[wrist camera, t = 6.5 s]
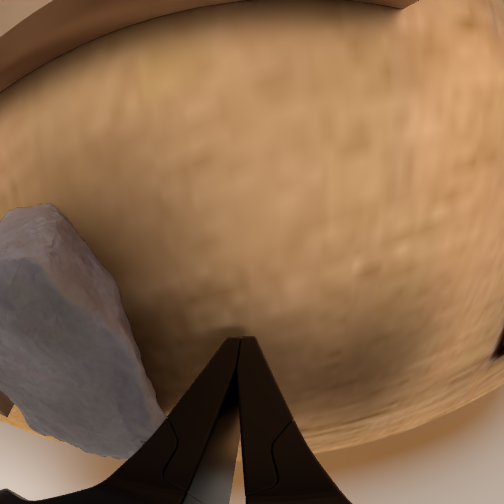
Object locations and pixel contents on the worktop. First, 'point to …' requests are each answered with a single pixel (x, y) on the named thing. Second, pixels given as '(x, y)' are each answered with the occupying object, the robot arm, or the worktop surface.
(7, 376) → the stone block
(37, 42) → the corner walls
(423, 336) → the worktop surface
